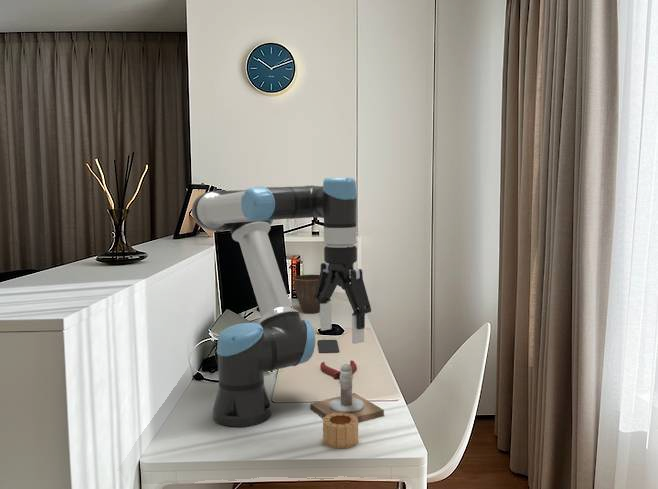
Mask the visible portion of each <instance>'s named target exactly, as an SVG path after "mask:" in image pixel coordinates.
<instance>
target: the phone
mask: <svg viewBox="0 0 658 489" xmlns="http://www.w3.org/2000/svg"><path fill="white" fill-rule="evenodd" d="M317 351H318V354H338V353H340V348H339V342H338V339H318V340H317Z"/></svg>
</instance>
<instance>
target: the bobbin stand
mask: <svg viewBox="0 0 658 489" xmlns="http://www.w3.org/2000/svg"><path fill="white" fill-rule="evenodd" d="M340 371H341V384H340V396H336V397H331V398H327V399H324V400H323V399H322V400H320V401H316V402H310V403H309V404H310V405H309V406H310V410H311V411H313V412H314V413H316V414H317V415H319V416H320V417H321V418H322V419H323V418H324V417H325V416H327V415H329V414H333V413H348V414H352V415H354V416H356V417H357V418H358V423H361V422H365V421H368V420H372V419H376V418H380V417H385V410H384V409H383V408H381V407H379V406H378V405H377V404H374V403H373V402H371V401H369V400H367V399H366V398H364V397H363V396H360V395H359V394H357V393H354V392H353V374H352V367H351V366H350V364H348V363H345V364H343V365H341V367H340Z"/></svg>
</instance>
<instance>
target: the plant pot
mask: <svg viewBox="0 0 658 489" xmlns="http://www.w3.org/2000/svg"><path fill="white" fill-rule="evenodd" d="M319 275H320V274H300V275H296V276H293V277H292V279H293V285H294V289H295V294H296V297H297V301H298V304H299V307H300V309H301V311H302V313H303V314H317V313H320V303H319V302H318V299H315V298H314V294H315V291H316V287H317V283H318V279H319ZM320 293H321V292H320Z"/></svg>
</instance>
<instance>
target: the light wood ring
mask: <svg viewBox="0 0 658 489" xmlns="http://www.w3.org/2000/svg"><path fill="white" fill-rule="evenodd" d="M322 438H323V439H322V441H323V444H325V445H326V446H327V447H330V448H334V449H348V448H351V447H355V446H356V445H357V444H358V443H359V422H358V418H357V417H356V416H354V415H352V414H348V413H333V414H329V415H327V416H325V417H324V418H323V417H322Z"/></svg>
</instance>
